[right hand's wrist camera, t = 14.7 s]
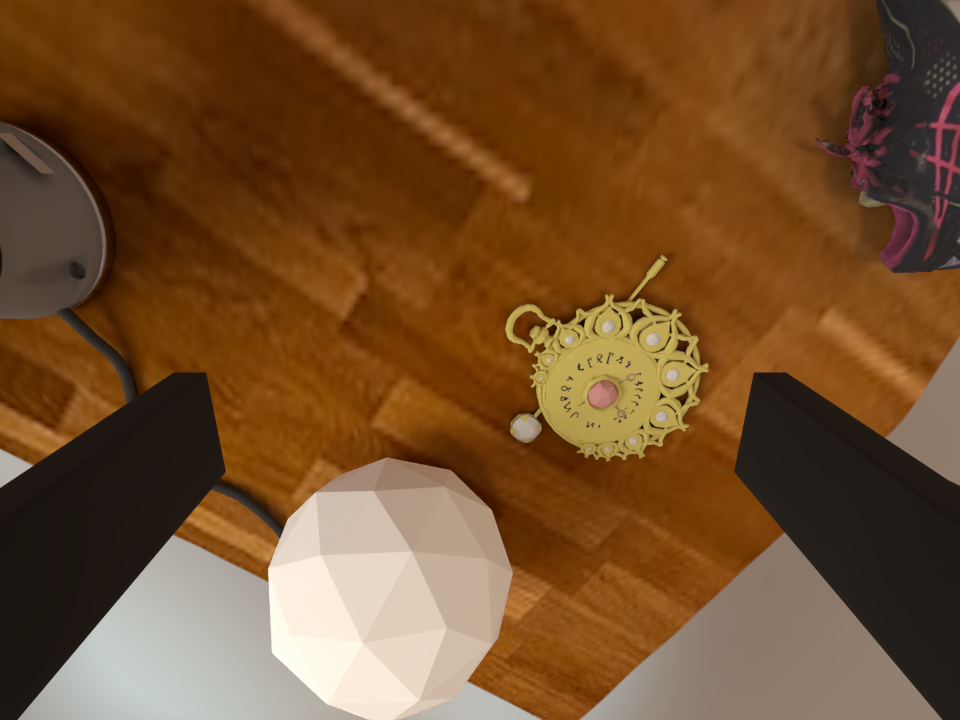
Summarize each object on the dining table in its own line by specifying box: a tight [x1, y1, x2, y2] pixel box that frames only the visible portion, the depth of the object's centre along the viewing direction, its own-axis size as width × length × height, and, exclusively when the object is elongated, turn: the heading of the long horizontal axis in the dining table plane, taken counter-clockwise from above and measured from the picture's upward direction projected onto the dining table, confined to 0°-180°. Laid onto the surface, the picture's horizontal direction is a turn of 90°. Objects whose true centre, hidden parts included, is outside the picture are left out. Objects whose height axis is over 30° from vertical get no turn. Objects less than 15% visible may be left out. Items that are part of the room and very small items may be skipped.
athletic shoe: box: [815, 0, 960, 273], centre depth 36 cm, size 11×22×12 cm
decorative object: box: [506, 255, 709, 462], centre depth 45 cm, size 21×2×20 cm
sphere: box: [268, 458, 513, 720], centre depth 43 cm, size 19×20×20 cm
